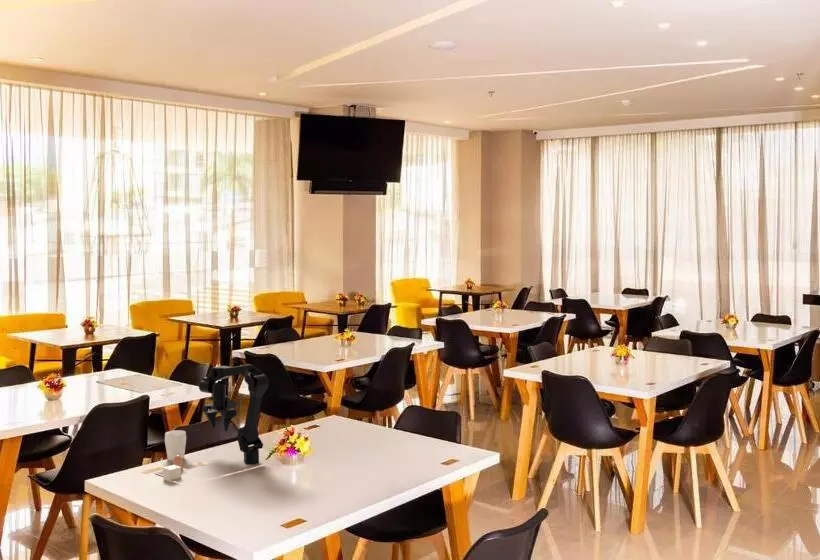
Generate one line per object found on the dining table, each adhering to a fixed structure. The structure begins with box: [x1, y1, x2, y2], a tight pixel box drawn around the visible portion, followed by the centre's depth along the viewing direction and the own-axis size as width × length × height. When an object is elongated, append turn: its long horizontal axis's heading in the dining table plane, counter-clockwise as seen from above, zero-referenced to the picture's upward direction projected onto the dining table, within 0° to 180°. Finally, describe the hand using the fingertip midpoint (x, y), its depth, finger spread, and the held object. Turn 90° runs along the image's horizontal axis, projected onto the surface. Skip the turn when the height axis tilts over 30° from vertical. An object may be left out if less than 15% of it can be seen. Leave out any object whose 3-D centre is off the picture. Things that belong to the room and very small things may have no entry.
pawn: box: [172, 455, 184, 471], centre depth 337 cm, size 4×4×6 cm
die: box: [162, 464, 182, 483], centre depth 326 cm, size 5×5×5 cm
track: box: [154, 460, 210, 478], centre depth 339 cm, size 23×6×1 cm, turn 138°
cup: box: [164, 429, 187, 461], centre depth 353 cm, size 9×9×12 cm
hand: (219, 429), depth 358 cm, fingers open, 9 cm apart
